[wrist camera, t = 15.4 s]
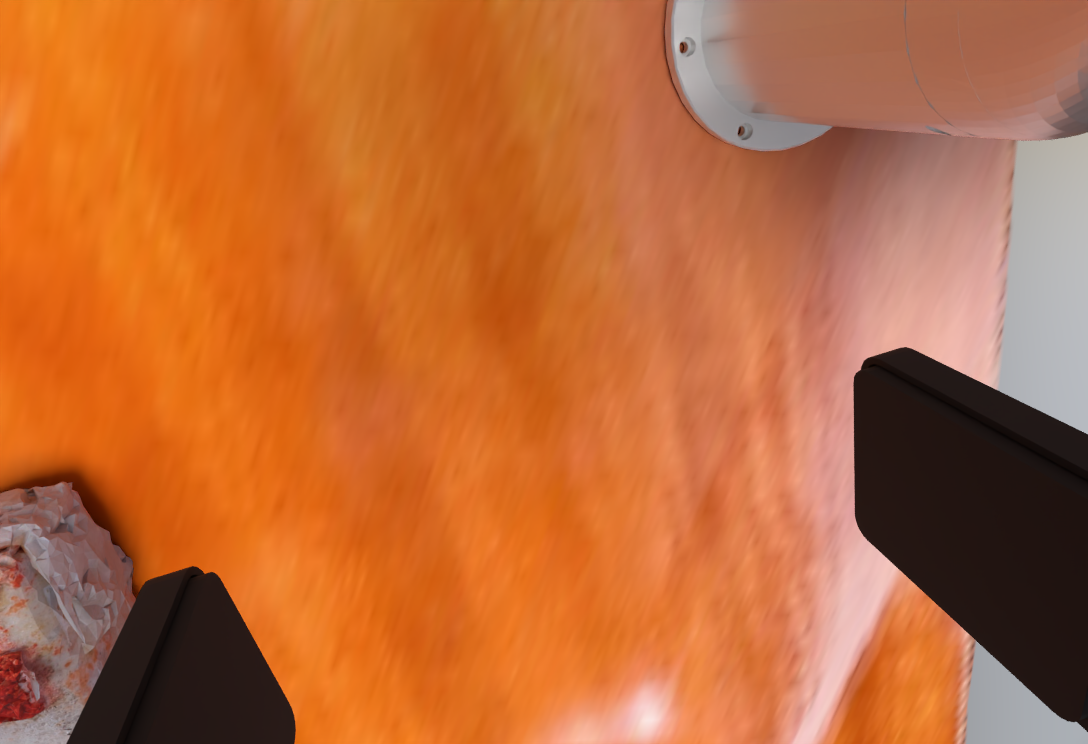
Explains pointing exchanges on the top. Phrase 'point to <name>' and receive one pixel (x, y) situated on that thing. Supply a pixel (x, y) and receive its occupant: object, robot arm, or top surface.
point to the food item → (54, 610)
